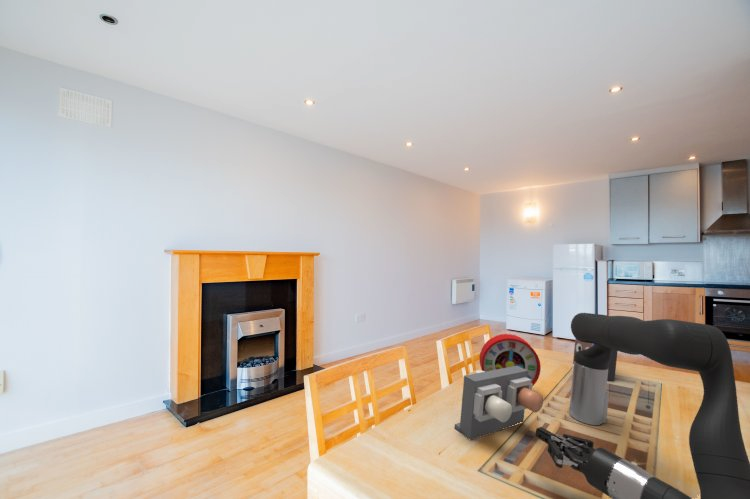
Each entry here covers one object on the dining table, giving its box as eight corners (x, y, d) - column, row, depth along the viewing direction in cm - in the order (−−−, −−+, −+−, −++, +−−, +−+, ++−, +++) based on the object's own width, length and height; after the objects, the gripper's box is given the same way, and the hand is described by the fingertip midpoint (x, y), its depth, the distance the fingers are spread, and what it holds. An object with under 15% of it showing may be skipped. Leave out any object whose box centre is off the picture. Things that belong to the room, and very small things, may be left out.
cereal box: (572, 365, 158) (577, 313, 157) (581, 365, 159) (586, 314, 158) (604, 381, 141) (610, 323, 140) (614, 381, 142) (620, 324, 141)
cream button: (484, 415, 91) (485, 396, 90) (497, 411, 93) (498, 393, 93) (497, 424, 87) (499, 404, 87) (511, 420, 89) (512, 401, 89)
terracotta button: (516, 406, 97) (518, 389, 97) (528, 403, 100) (529, 386, 99) (530, 414, 93) (532, 396, 93) (542, 410, 96) (543, 393, 96)
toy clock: (479, 389, 124) (483, 335, 123) (477, 382, 130) (481, 330, 129) (537, 398, 121) (543, 342, 120) (533, 391, 126) (538, 337, 126)
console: (506, 413, 108) (511, 363, 107) (529, 426, 101) (534, 373, 101) (454, 428, 97) (459, 372, 97) (475, 444, 90) (480, 384, 90)
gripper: (639, 451, 68) (556, 410, 83) (603, 470, 62) (520, 421, 77) (635, 488, 68) (553, 440, 83) (599, 510, 62) (517, 454, 77)
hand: (537, 431), depth 80 cm, fingers closed
